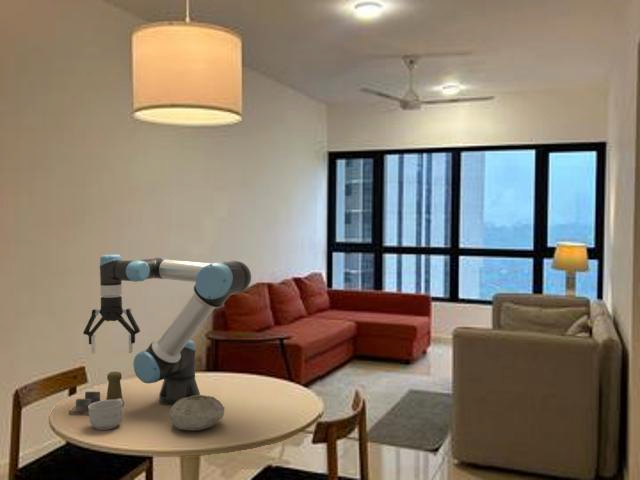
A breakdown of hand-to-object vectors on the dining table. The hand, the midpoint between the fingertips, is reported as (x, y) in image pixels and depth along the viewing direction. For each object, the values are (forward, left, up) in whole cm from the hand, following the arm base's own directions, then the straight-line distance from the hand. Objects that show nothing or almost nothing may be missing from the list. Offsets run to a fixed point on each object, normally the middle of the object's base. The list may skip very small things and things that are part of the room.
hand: (112, 352), depth 234 cm
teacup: (-7, +27, -19) cm, 33 cm away
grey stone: (-37, +27, -19) cm, 49 cm away
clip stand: (+5, +10, -19) cm, 22 cm away
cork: (-1, -1, -19) cm, 19 cm away
